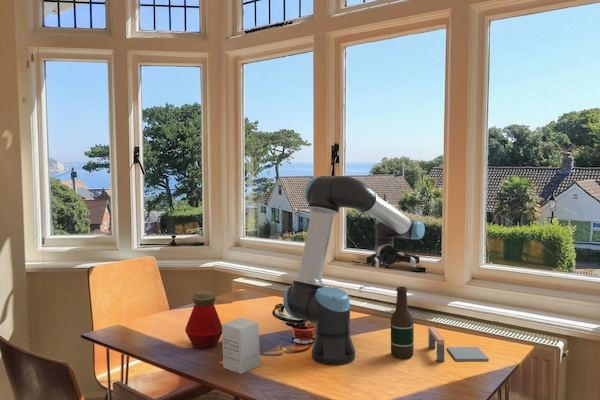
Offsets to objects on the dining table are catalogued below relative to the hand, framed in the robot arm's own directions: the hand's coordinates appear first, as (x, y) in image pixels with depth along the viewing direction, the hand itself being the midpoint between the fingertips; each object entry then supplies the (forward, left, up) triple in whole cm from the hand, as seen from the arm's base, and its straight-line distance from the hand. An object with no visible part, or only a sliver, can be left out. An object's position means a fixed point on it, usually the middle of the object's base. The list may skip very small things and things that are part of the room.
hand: (396, 264), depth 181 cm
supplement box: (-55, -21, -30) cm, 66 cm away
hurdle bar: (+12, -11, -24) cm, 29 cm away
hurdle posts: (+12, -11, -30) cm, 34 cm away
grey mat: (+22, -12, -30) cm, 39 cm away
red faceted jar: (-72, 0, -30) cm, 78 cm away
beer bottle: (0, -12, -30) cm, 32 cm away
